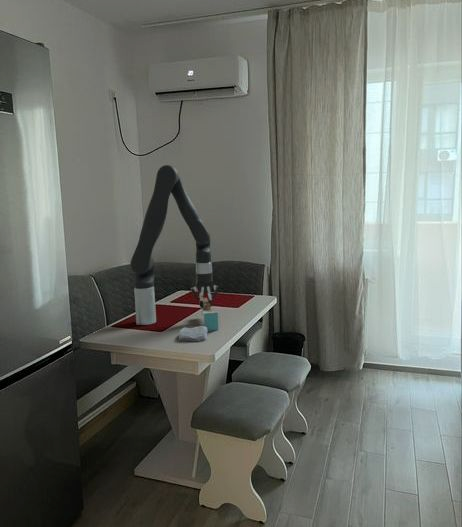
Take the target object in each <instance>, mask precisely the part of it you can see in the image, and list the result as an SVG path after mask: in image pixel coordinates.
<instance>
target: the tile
mask: <svg viewBox="0 0 462 527" xmlns="http://www.w3.org/2000/svg"><path fill="white" fill-rule="evenodd" d="M203 326H204V327H206V328H207V329H208V332H211V331H219V314H218V311H214V312H204V316H203Z"/></svg>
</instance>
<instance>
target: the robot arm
mask: <svg viewBox="0 0 462 527" xmlns="http://www.w3.org/2000/svg"><path fill="white" fill-rule="evenodd" d="M180 176H181V175H180V173H179V170H178V169H177V168H176V167H175V166H173V165H169V164H165V165H163V166H161V167H160V168H158V170H157V173H156V177H155V184H154V189H153V193H152V196H151V199H150V201H149V204H148V206H147V209H146V212H145V215H144V219H143V221H142V226H141V230H140V234H139V239H138V242H137V245H136V248H135V250H134V253H133V255H132V256H131V260H130V269H131V270H132V272H133V273H134V274H135V277H134V281H133V288H134V289H133V291H134V302H135V304H134V307H135V308H134V309H135V323H136V326H137V325H141V326H144V325H146V326H147V325H152V324H155V323H157V313H156V312H157V311H156V298H155V297H156V296H155V260H154V258H153V256H152V254H153V249H154V247H155V246H156V243H157V241H158V239H159V237H160V236H161V234H162V232H163V229H164V225H165V223H166V219H167V216H168V215H167V214H168V206H169V199H170V195H172V197H173V199H174V200H175V203H176V206H177V207H178V210H179V213H180V215H181V216H182V218H183V220H184V222H185V224H186V225H187V226H188V229H189V230H190V232H191V234H192V237H193V238H194V241H195V247H196V248H195V249H196V250H195V262H196V263H195V274H196V276H195V277H196V284H195V286H194V287H191V288H190V291H191V292H192V295H193V297H194V298H195V300H196V301H199V308H200V309H202V310H203V300H202V299H203V298H204V294H207V298H208V302H209V303H210V309H211V307H212V306H213V300H214V299H216V297H217V295H218V293H219V289H220V286H218V285H215V284H214V282H213V281H214V280H213V266H212V265H213V264H212V253H211V234H210V232H209V230H208V229H207V228H206V226H205V224H204V223H203V220H202V218H201V216H200V214H199V212H198V210H197V208H196V207H195V205H194V203H193V202H192V200H191V198H190V197H189V196H188V193H187V191H186V189H185V187H184V184H183V182H182V179H181V177H180ZM197 290H198V292H199V296H198V294H197V293H196V292H197ZM212 290H214V291H213V292H212V293H213V294H211V291H212Z"/></svg>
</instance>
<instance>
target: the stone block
mask: <svg viewBox="0 0 462 527" xmlns="http://www.w3.org/2000/svg"><path fill="white" fill-rule="evenodd" d="M208 332H209V331H208V329H207V328H206V327H204V325H200V326H195V327H192V328H189V327H182V328H181V329H180V331H179V335H178V339H179V341H184V342H185V341H186V342H203V341H206V340H208Z"/></svg>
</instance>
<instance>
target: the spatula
mask: <svg viewBox="0 0 462 527" xmlns="http://www.w3.org/2000/svg"><path fill="white" fill-rule="evenodd" d="M202 300H203V309H202V310H201V313H202V316H203V317H204V312H215V311H214V309H211V308H210V303H209V302H208V300H209V298H208V297H203V299H202Z"/></svg>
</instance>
